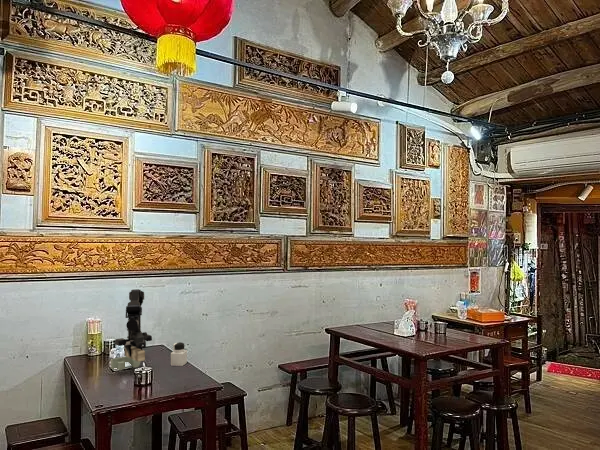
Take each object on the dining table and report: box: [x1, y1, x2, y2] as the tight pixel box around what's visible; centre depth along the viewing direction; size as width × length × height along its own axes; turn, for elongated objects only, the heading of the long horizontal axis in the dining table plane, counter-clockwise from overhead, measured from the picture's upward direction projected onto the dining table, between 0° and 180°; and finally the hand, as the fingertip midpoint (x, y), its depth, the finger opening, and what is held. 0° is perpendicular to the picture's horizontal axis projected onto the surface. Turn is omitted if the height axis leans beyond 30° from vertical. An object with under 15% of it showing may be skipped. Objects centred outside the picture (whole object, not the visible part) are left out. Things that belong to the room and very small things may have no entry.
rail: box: [123, 345, 146, 363], centre depth 262 cm, size 18×4×5 cm, turn 43°
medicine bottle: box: [170, 342, 188, 367], centre depth 274 cm, size 7×7×12 cm
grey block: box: [110, 356, 141, 371], centre depth 268 cm, size 6×16×6 cm, turn 133°
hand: (133, 355), depth 262 cm, fingers closed on rail, 3 cm apart
